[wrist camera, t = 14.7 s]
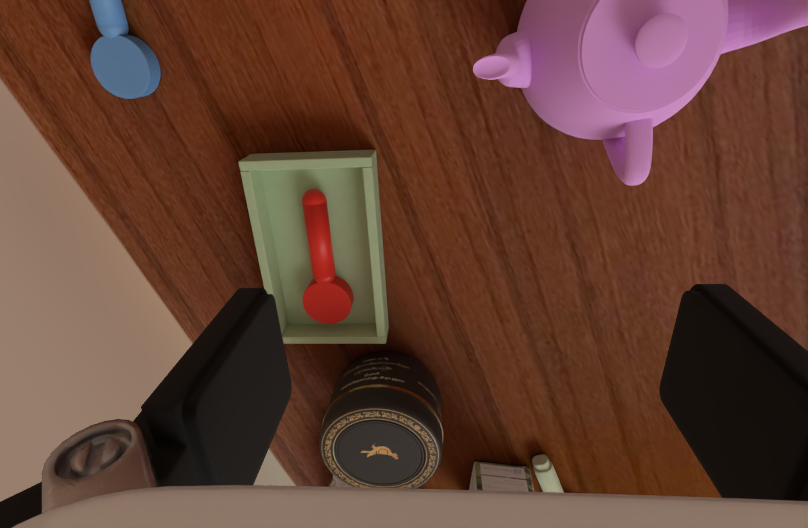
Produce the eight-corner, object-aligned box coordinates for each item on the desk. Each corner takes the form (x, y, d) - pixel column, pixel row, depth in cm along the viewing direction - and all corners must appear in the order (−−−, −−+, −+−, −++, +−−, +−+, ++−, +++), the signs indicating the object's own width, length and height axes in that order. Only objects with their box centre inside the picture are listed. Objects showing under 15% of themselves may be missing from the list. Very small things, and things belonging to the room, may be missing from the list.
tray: (251, 153, 34) (237, 161, 32) (376, 149, 33) (371, 156, 31) (284, 327, 40) (275, 344, 38) (389, 327, 40) (386, 344, 37)
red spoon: (289, 186, 34) (282, 193, 33) (341, 185, 34) (337, 192, 32) (310, 315, 39) (304, 327, 37) (355, 315, 39) (352, 327, 37)
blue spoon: (55, -99, 28) (31, -108, 26) (116, -104, 28) (96, -114, 26) (114, 98, 33) (97, 100, 31) (167, 95, 32) (153, 98, 31)
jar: (319, 358, 41) (295, 421, 35) (422, 332, 39) (419, 392, 33) (359, 436, 45) (345, 506, 38) (455, 416, 43) (459, 486, 36)
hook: (560, 563, 50) (504, 473, 45) (559, 549, 51) (504, 459, 46) (610, 558, 48) (556, 463, 43) (607, 543, 49) (555, 449, 44)
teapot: (462, 64, 30) (470, 70, 22) (634, -146, 25) (725, -236, 17) (583, 179, 33) (628, 221, 25) (760, 11, 28) (890, -4, 20)
